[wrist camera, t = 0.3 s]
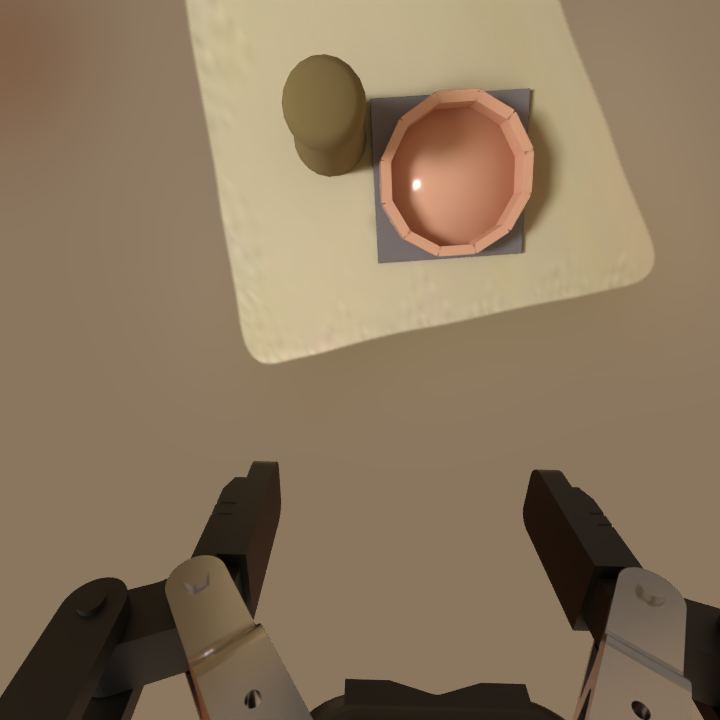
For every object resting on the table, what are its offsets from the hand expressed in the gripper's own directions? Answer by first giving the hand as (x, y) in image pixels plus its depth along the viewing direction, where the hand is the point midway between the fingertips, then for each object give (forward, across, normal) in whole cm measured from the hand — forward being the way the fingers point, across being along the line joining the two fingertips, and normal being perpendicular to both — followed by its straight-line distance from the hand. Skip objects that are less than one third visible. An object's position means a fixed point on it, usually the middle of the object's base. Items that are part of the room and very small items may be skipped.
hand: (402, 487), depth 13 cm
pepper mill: (+29, +4, -12) cm, 32 cm away
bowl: (+28, -6, -9) cm, 30 cm away
